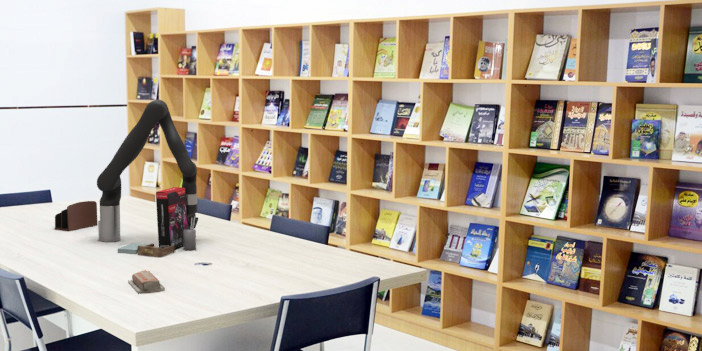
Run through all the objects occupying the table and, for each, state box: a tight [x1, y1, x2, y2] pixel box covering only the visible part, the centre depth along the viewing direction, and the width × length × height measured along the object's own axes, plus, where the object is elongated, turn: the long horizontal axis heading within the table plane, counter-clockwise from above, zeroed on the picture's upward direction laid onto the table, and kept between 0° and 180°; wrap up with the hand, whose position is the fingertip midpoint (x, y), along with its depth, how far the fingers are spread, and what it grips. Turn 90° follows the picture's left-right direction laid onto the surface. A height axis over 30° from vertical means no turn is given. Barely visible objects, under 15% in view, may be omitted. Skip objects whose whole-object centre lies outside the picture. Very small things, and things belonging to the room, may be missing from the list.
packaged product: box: [127, 269, 166, 294], centre depth 287 cm, size 18×5×10 cm
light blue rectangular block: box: [117, 242, 150, 255], centre depth 347 cm, size 9×13×2 cm
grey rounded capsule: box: [182, 228, 197, 252], centre depth 351 cm, size 6×6×9 cm
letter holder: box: [54, 200, 98, 232], centre depth 397 cm, size 10×20×14 cm, turn 153°
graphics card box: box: [155, 186, 187, 250], centre depth 353 cm, size 17×7×27 cm, turn 165°
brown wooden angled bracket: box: [137, 243, 175, 258], centre depth 341 cm, size 12×11×4 cm
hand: (189, 238), depth 368 cm, fingers closed
